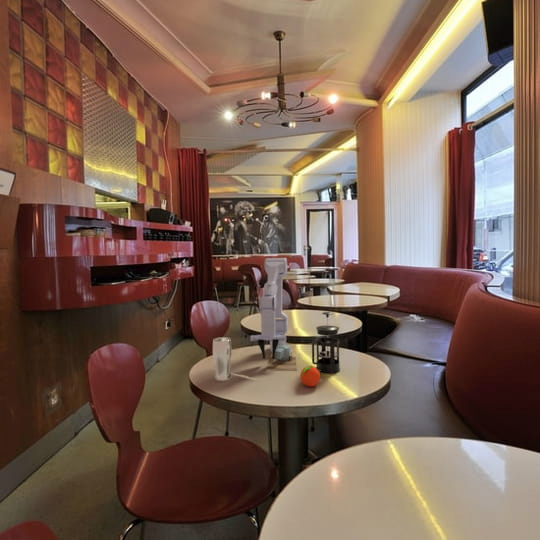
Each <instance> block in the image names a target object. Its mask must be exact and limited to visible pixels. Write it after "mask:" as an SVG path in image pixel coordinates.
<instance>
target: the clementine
mask: <svg viewBox="0 0 540 540" xmlns="http://www.w3.org/2000/svg"><path fill="white" fill-rule="evenodd" d="M319 371H320V370H318V369H317V367H315V366H312V365H306V366H305V367H304V368H302V370H301V372H300V376H299V377H300V380H301V382H302V384H303V385H304V386H306V387H315V386H317V385H318V384H319V382H320V380H321V374H320V372H319Z"/></svg>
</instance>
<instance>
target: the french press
mask: <svg viewBox="0 0 540 540" xmlns="http://www.w3.org/2000/svg"><path fill="white" fill-rule="evenodd" d="M321 314H322V315H325V316H326V325H319V326H316V330H317V331H316V332H317V334H318V335H320V336H323V337H318V338H317V339H316V340H315V341H312V342H311V363H312V364H313V365H316V369H317V370H318V371H319V373H321V374H328V375H330V374H337V373H339V372H340V371H341V367H340V339H339V338H336V337H333V336H337V335H338V333H339V330H340V327H339V326H336V325H329V315H333V314H334V313H333V312H331V311H324V312H322V313H321ZM324 336H325V337H324ZM326 341H327V342H326ZM330 341H331V342H330ZM315 344H316V361H315ZM320 346H321V351H319V347H320ZM335 347H336V351H335ZM326 349H327V350H326Z"/></svg>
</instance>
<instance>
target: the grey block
mask: <svg viewBox="0 0 540 540" xmlns="http://www.w3.org/2000/svg"><path fill="white" fill-rule="evenodd" d="M290 353H291V346H290V345H280V346H279V347H278V349H277V350H276V351H275V358H277V359H278V360H280V361H289V360H290Z"/></svg>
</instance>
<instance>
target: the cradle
mask: <svg viewBox="0 0 540 540" xmlns="http://www.w3.org/2000/svg"><path fill="white" fill-rule="evenodd" d="M265 371H266V372H284V371H285V372H295V371H298V369H297V357H296V356H293V352H290V360H289V361H280V360H278V359H277V358H275V354H274V359H272V353H271V356H268V357H267V363H266V370H265Z"/></svg>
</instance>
